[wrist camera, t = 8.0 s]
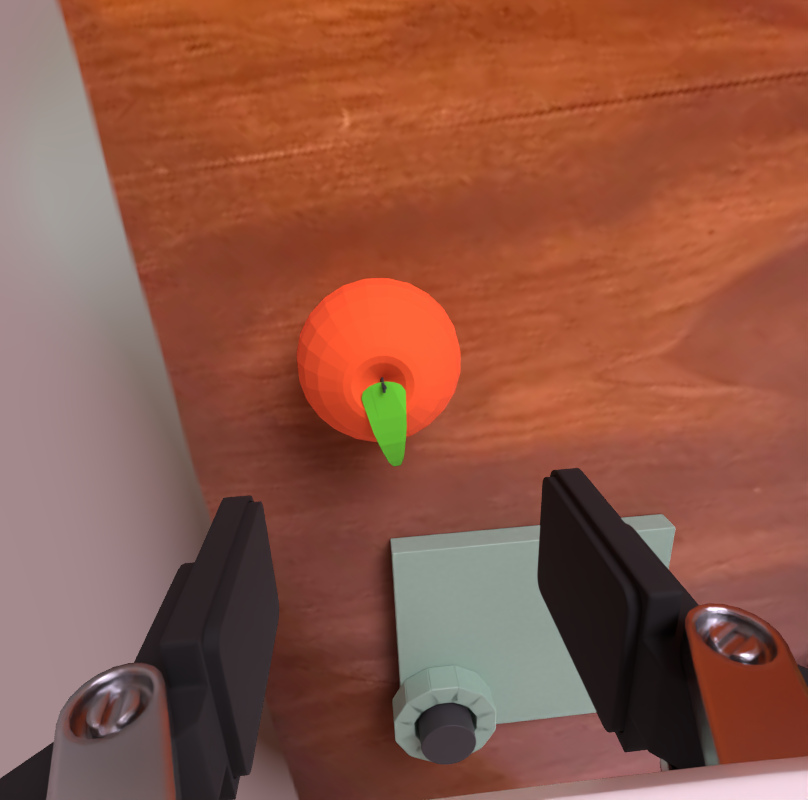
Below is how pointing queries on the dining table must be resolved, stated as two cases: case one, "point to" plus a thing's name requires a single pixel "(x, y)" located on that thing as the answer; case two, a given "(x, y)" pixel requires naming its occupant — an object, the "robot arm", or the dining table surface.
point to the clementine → (379, 361)
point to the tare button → (446, 733)
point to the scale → (485, 629)
